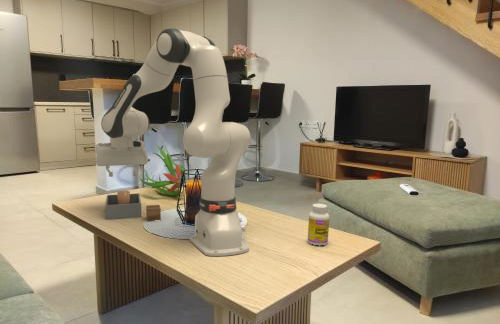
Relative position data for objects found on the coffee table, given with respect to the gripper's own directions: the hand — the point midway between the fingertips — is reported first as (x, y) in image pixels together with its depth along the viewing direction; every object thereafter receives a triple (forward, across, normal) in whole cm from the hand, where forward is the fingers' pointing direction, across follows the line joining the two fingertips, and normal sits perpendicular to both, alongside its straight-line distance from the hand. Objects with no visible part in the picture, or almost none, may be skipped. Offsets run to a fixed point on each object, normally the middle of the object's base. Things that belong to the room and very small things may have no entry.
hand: (123, 175), depth 153 cm
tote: (+15, 0, -4) cm, 15 cm away
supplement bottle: (+16, +61, -56) cm, 84 cm away
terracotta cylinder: (+14, 0, 0) cm, 14 cm away
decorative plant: (+15, +21, +23) cm, 34 cm away
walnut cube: (+15, +11, -16) cm, 24 cm away
